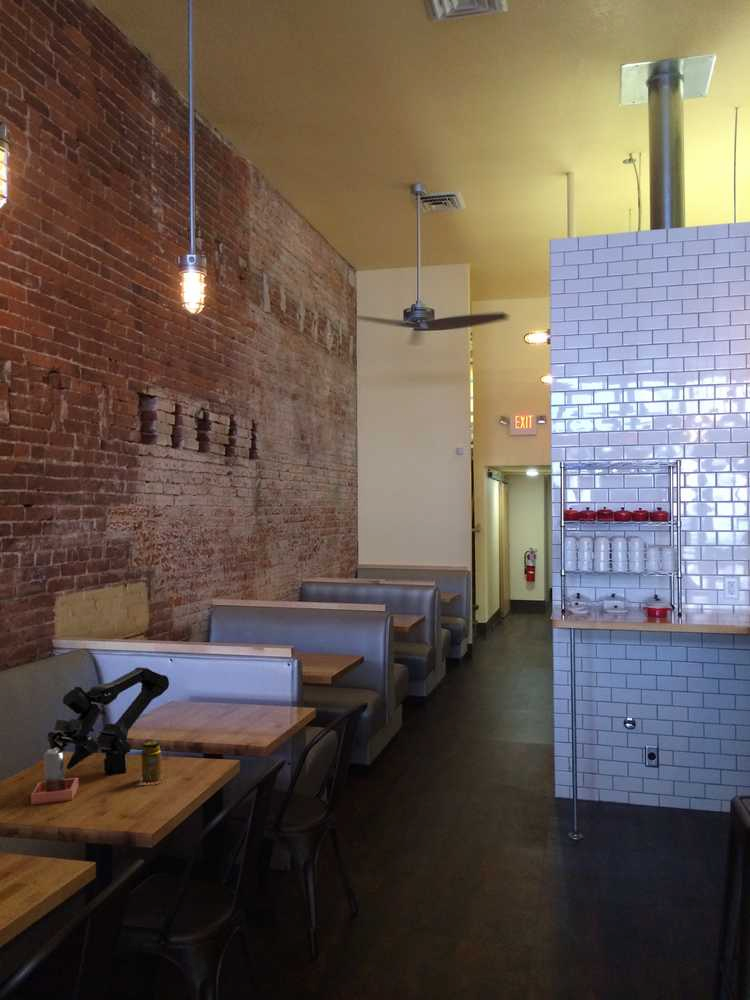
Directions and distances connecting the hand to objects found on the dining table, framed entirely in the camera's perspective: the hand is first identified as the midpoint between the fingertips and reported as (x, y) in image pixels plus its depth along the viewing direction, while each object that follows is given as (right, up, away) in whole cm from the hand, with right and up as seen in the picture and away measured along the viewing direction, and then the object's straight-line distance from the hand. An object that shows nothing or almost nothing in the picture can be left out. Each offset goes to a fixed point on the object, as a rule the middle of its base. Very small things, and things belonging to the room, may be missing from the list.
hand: (57, 766), depth 242 cm
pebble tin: (0, -8, -1) cm, 8 cm away
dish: (0, -8, -1) cm, 8 cm away
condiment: (+26, -8, +9) cm, 29 cm away
